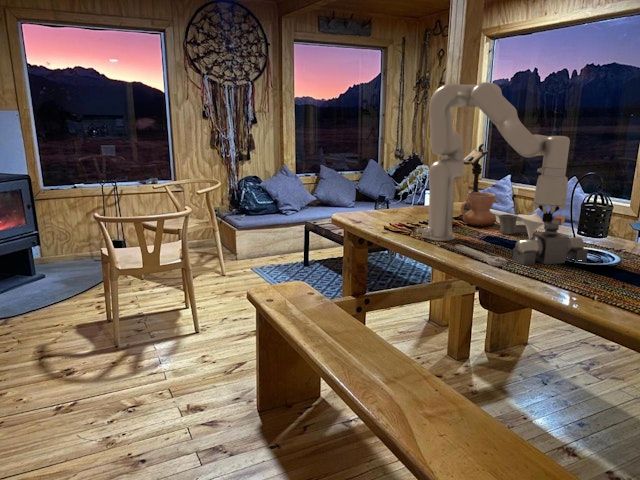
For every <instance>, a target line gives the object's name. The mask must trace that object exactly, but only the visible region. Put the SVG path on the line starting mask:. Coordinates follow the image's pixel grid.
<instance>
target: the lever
mask: <svg viewBox="0 0 640 480" xmlns="http://www.w3.org/2000/svg"><path fill="white" fill-rule="evenodd" d="M565 219H566V215H559V214H557V215H556V216H555V217H553V219H552V221H551V222H545V225H543V226H544V230H545V229H546V230H553V231H555V230H557V231H559V228H560V226H562V225H563V224H564V223H565V221H566V220H565Z"/></svg>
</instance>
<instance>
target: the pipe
mask: <svg viewBox="0 0 640 480" xmlns="http://www.w3.org/2000/svg"><path fill="white" fill-rule="evenodd" d="M497 216H498V220H499V226H500V229H499V230H500V233H501V235H507V236H508V235H528V231H527V228H526V225H525V224H517V218H518V215H515V214H514V215H513V214H505V213H503V214H498V215H497Z"/></svg>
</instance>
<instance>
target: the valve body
mask: <svg viewBox="0 0 640 480" xmlns="http://www.w3.org/2000/svg"><path fill="white" fill-rule="evenodd" d="M544 230H545V231H540V232H539V231H538V232H536V231H535V232H534V233H533V236H532V237H531V238H530V240H529V239H521V240H520V239H519V240H517V241H516V242H515V245H514V246H515V247H513V250H512V251H513V252H512V260H514V261H515V262H517V263H519V264H521V265H523V266H528V265H530V266H531V265H536V262H538V263H540V264H543V265H554V264H555V265H556V264H566V263H565V261H566V262H567V259H568V258H570V259H574V260H582V261H583V262H587V261H588V254H589V249H588V248H584V246H585V244H584V241H583V239H582V238H581V237H579V236H577V237H570V236H567V235H566V234H565V235H564V234H561V233H559V232H558V230H555V231H553V230H546V229H544ZM567 257H568V258H567ZM570 259H569V260H570Z"/></svg>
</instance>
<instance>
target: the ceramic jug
mask: <svg viewBox="0 0 640 480" xmlns="http://www.w3.org/2000/svg"><path fill="white" fill-rule="evenodd" d="M496 196H497V195H496V194H495V193H492V192H480V191H479V192H476V193H471V192H469V193H466V198H467V199H466V200H465V201H462V202H461V204H460V212H461V215H462V220H463V221H464V223H466V224H468V225H470V226H474V227H489V226H491V225H494V224H495V223H496V221H497V217H496V215H495V214H494V213H493V212H492V211H491V209H492V206H493V205H494V204H495V203H496V204H499V203H500V201H499V200H498V199H496ZM467 200H468V201H467ZM465 204H468V205H469V206H470V209H471V210H470V211H468V212H467V213H465V212H464V206H465Z"/></svg>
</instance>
